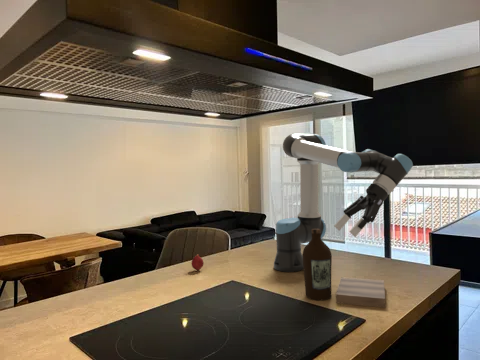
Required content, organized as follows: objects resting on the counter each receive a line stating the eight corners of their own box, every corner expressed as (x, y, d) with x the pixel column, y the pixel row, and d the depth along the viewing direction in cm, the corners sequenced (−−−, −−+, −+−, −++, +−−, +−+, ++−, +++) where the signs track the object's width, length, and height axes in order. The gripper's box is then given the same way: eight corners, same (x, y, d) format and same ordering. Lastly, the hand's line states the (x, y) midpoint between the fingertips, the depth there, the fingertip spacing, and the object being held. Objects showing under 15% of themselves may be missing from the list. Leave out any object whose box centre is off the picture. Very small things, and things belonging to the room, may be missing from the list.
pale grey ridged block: (341, 284, 141) (341, 277, 141) (384, 287, 135) (383, 280, 135) (336, 302, 123) (335, 294, 123) (385, 307, 117) (385, 298, 117)
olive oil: (300, 292, 134) (297, 227, 134) (326, 289, 136) (324, 226, 135) (309, 302, 124) (306, 232, 123) (337, 299, 125) (335, 230, 125)
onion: (192, 272, 167) (191, 256, 166) (191, 269, 172) (190, 253, 172) (204, 271, 168) (203, 255, 167) (203, 268, 173) (202, 252, 173)
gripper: (406, 197, 120) (367, 244, 118) (370, 193, 145) (337, 232, 143) (391, 183, 119) (352, 229, 118) (357, 181, 144) (324, 220, 142)
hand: (343, 231), depth 130 cm, fingers open, 13 cm apart
